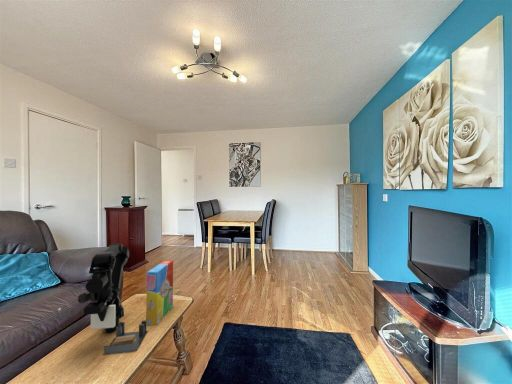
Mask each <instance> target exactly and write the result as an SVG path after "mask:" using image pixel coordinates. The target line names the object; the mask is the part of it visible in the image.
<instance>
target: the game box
mask: <svg viewBox="0 0 512 384" xmlns="http://www.w3.org/2000/svg"><path fill="white" fill-rule="evenodd" d="M173 297H174V260H168V259H167V260H163V261H162V262H160V263H159V264H157V265H156V266H154V267H153V268H151V269H150V270H148V271H147V272H146V302H145V303H146V304H145V305H146V308H145V309H146V311H145V312H146V314H145V319H146V320H147V327H157V326H158V325H159V324H160V323H161V321H163V318H164V317H165V316H166V315H167V314H168V313H169V312H170V311H171V310H172V309H173V307H174V306H173V305H174V304H173V303H174V302H173V301H174V298H173Z"/></svg>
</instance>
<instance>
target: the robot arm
mask: <svg viewBox="0 0 512 384" xmlns="http://www.w3.org/2000/svg"><path fill="white" fill-rule="evenodd" d="M129 257H130V250H129V248H128V247H127V246H124V244H123V243H121V242H120V243H117V242H116V243H112V244H110V245H109V247H108V248H106V249H105V251H103V252H99V253H96V254H95V255H94V256H93V257H92V259H91V263H90V265H89V266H90V267H89V270H88V274H90V275H91V274H92V275H91V278H90V279H89V280H88V281H86V284H85V289H86V291H85V292H83V293H81V294H79V295H78V297H77V302H78V303H79V304H82V305H84V304H85V303H86V302H89V301H90V302H89V303H88V304H87V305H86V306H84V308H83V309H82V315H84V316H85V315H91V314H98V316H99V319H100V321H104V319H105V316H106V313H107V310H108V307H109V305H116V326H115V327H113V328H104V329H105V330H104V331H105V334H113V333H114V332H116V327H117V326H119V323H120V319H122V318H123V317H125V309H124V307H123V304H122V301H121V299H120V294H121V283H122V277H123V270H124V266H125V265H126V264H127V263H128V259H129Z"/></svg>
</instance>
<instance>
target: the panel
mask: <svg viewBox="0 0 512 384" xmlns="http://www.w3.org/2000/svg"><path fill="white" fill-rule="evenodd" d="M115 326H116V305H109V307H108V310H107V313H106V316H105V319H104V321H100V319H99V316H98V314H90V330H100V329H101V330H102V329H105V328H113V327H115Z"/></svg>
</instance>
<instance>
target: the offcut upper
mask: <svg viewBox="0 0 512 384" xmlns="http://www.w3.org/2000/svg"><path fill="white" fill-rule="evenodd" d="M115 337H116V336H115ZM114 339H115V338H114ZM114 339H113V340H114ZM134 340H135V335H129V336H121V337H116V339H115V340H114V342H113V345H121V344H132V343H133V342H134Z"/></svg>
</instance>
